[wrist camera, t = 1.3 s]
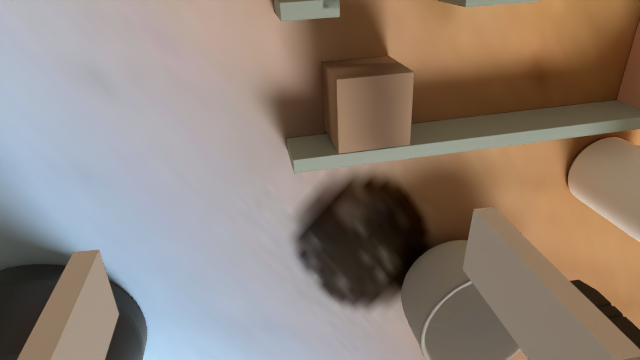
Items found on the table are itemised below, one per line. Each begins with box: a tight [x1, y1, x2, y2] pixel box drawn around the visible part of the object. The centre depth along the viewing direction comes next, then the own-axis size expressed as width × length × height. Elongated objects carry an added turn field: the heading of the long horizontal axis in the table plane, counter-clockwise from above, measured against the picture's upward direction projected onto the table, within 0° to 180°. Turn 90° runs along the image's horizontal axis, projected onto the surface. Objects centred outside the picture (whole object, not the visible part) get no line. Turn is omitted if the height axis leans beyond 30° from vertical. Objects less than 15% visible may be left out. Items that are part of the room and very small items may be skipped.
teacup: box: [401, 240, 521, 360], centre depth 39 cm, size 14×11×8 cm
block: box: [322, 56, 414, 154], centre depth 30 cm, size 5×5×5 cm
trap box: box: [274, 0, 640, 173], centre depth 30 cm, size 30×18×4 cm, turn 93°
